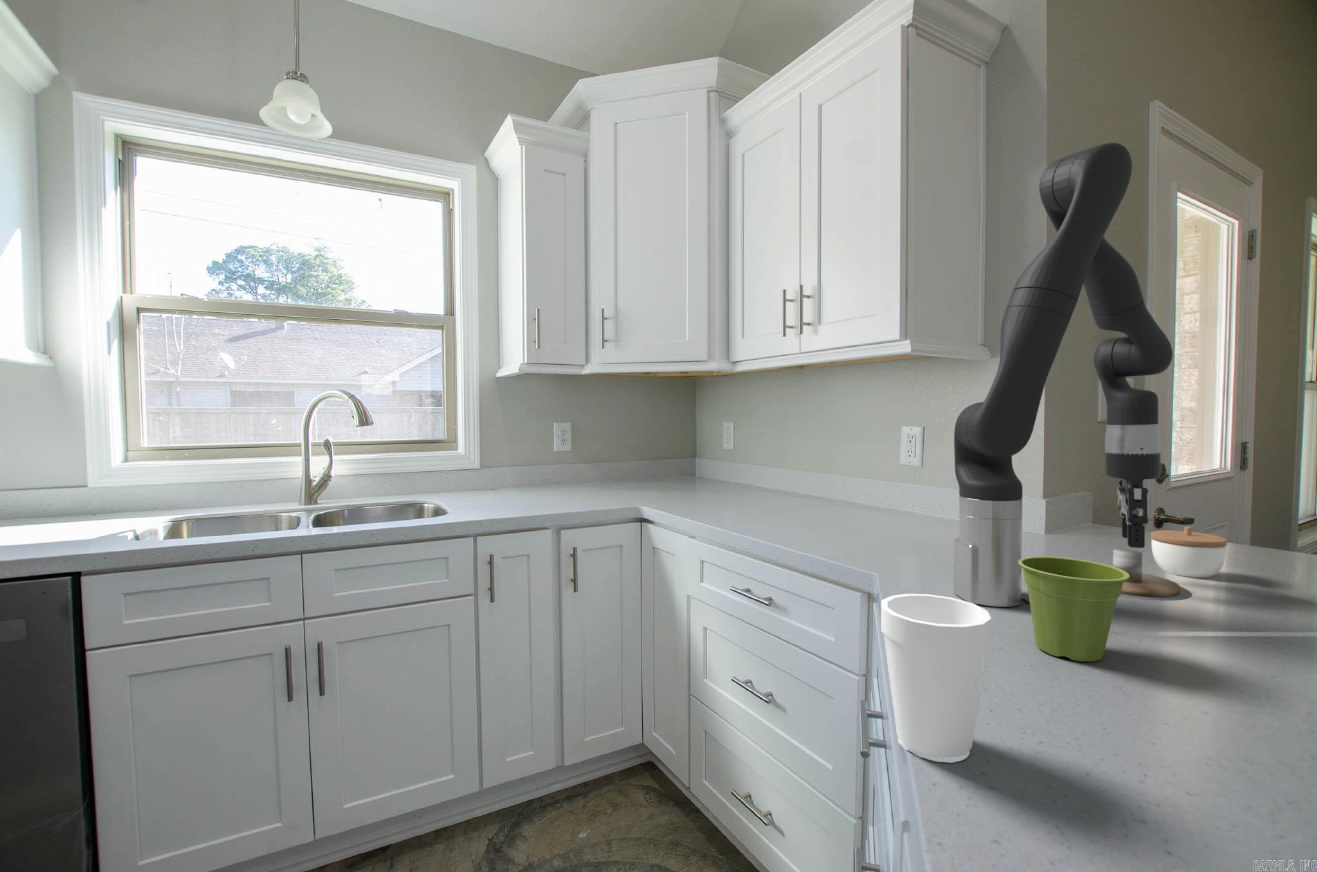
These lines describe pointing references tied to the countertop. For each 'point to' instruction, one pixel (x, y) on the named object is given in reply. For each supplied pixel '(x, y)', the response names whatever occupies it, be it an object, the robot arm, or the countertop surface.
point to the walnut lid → (1141, 577)
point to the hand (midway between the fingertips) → (1132, 542)
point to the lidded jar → (1188, 552)
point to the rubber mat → (1183, 595)
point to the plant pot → (1072, 604)
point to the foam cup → (935, 669)
